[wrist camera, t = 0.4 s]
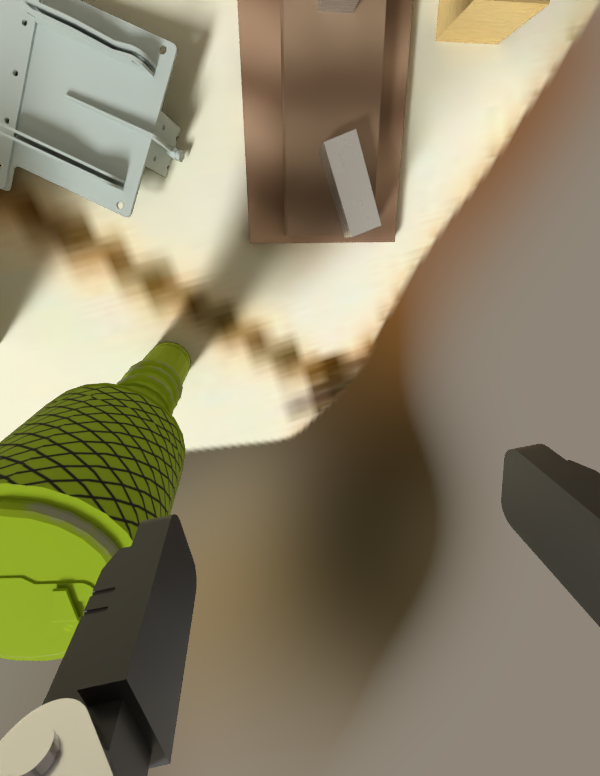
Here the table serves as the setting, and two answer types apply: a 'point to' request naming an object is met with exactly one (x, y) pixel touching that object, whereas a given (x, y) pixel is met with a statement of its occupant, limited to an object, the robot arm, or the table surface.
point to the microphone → (83, 496)
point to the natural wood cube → (483, 19)
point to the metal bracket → (83, 100)
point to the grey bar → (348, 165)
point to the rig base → (270, 119)
